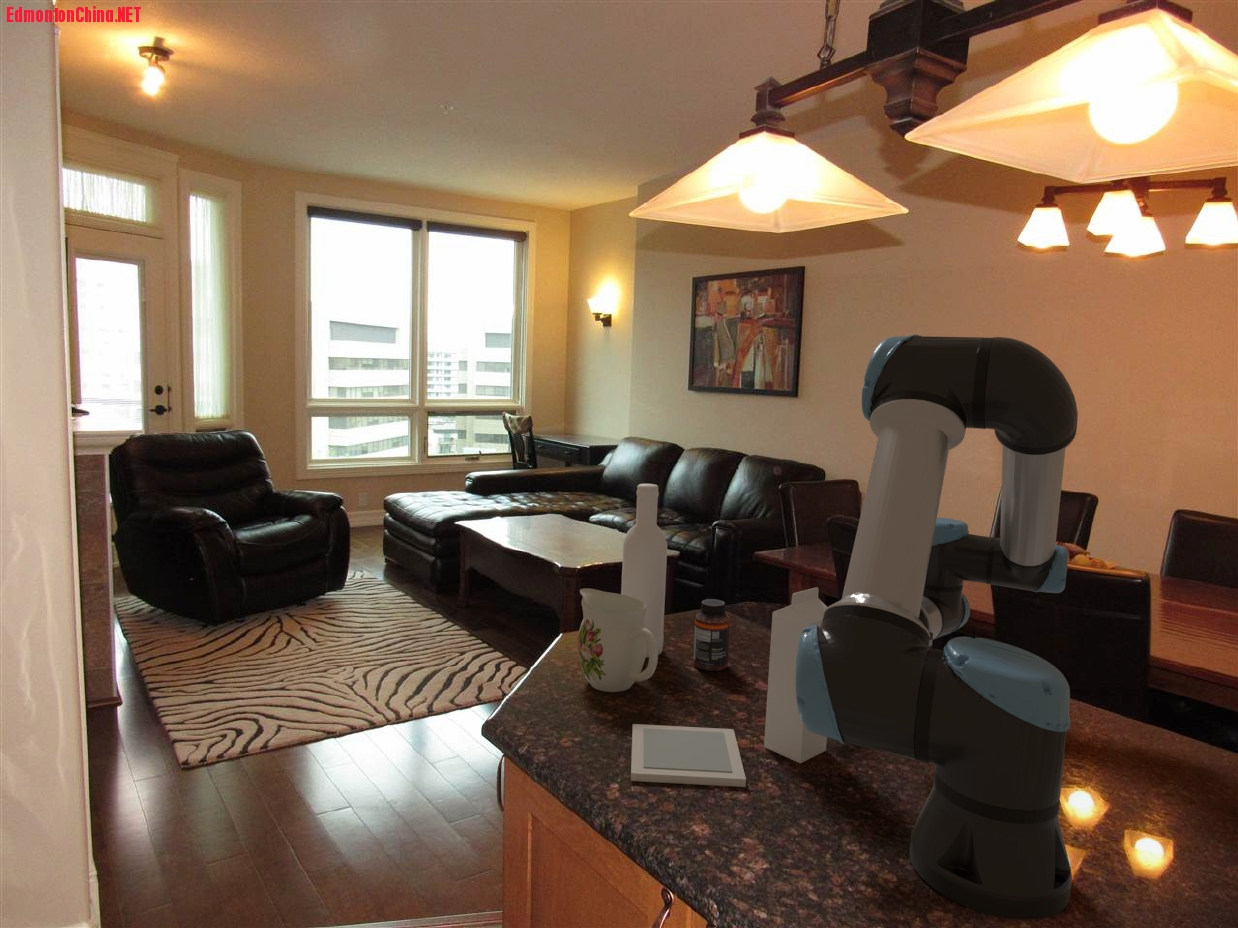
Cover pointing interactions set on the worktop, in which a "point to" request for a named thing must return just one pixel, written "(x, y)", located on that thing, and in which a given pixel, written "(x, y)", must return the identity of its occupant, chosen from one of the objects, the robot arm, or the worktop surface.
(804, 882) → the worktop surface
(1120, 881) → the worktop surface
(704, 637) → the supplement bottle
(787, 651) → the milk
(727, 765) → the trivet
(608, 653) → the pitcher
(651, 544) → the bottle
